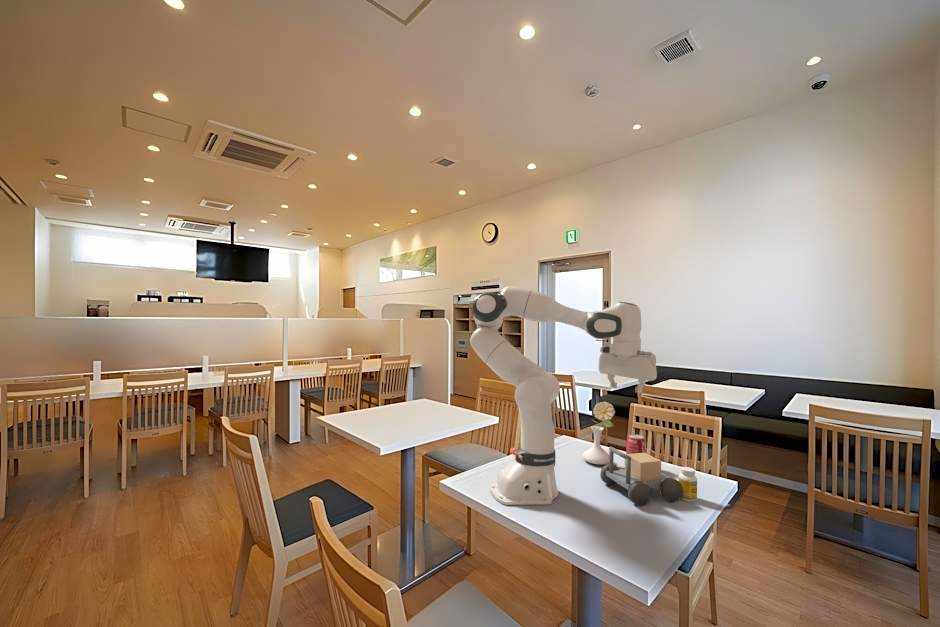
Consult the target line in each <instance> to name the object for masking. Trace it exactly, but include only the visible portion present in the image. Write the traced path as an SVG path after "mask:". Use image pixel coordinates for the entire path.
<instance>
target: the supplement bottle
mask: <svg viewBox="0 0 940 627" xmlns="http://www.w3.org/2000/svg"><path fill="white" fill-rule="evenodd" d="M678 481H679V482H680V483H681V485H682V488H683V492H682V495H681V497H680V500H682V501H685V500H686V501H685V502H690V501H693V502H697V500H698V477H697V476H696V470H695V469H694V468H692V467H689V466H681V468H680V473H679V475H678Z"/></svg>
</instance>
